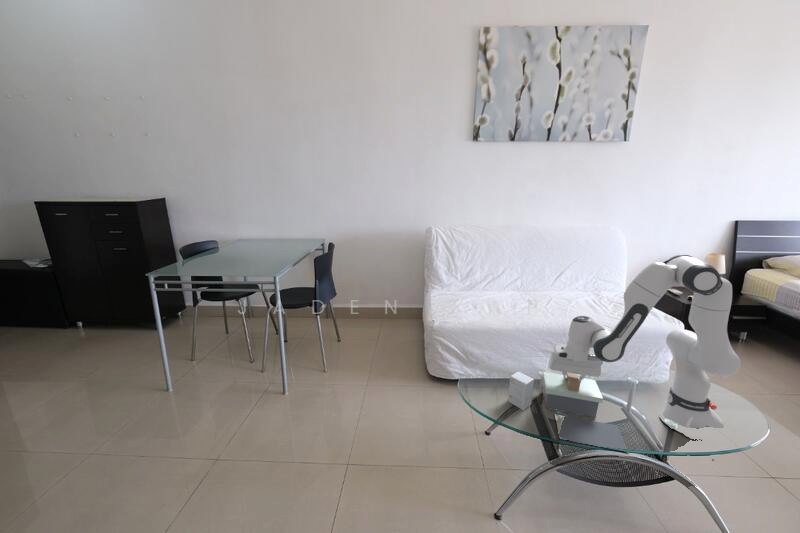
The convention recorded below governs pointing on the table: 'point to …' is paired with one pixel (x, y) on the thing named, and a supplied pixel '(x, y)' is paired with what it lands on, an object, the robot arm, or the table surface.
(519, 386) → the small box
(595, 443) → the mat
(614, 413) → the table surface
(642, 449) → the table surface
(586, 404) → the storage box
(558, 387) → the lid
